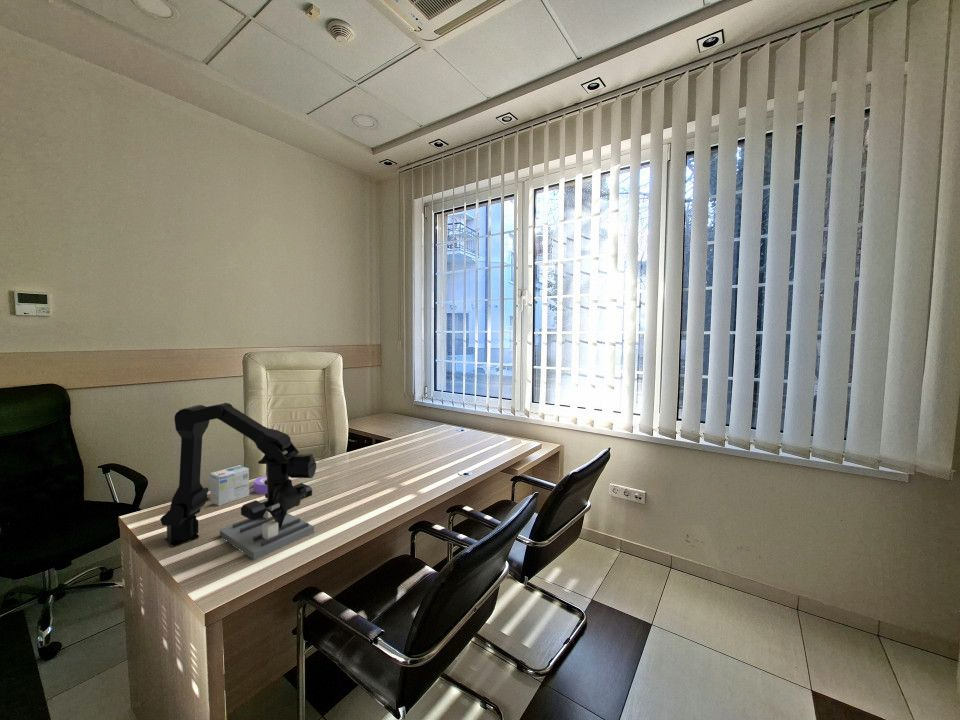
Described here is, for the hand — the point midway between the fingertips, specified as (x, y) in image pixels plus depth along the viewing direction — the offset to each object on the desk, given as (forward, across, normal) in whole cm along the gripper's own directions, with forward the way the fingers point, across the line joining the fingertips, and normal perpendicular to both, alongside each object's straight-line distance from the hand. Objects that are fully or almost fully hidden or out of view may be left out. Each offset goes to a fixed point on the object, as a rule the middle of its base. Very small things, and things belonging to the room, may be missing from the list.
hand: (279, 527), depth 114 cm
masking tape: (+5, +19, +39) cm, 43 cm away
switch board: (+4, 0, +6) cm, 7 cm away
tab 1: (+2, +4, +12) cm, 13 cm away
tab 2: (+2, -3, 0) cm, 3 cm away
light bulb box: (+5, +5, +41) cm, 41 cm away
